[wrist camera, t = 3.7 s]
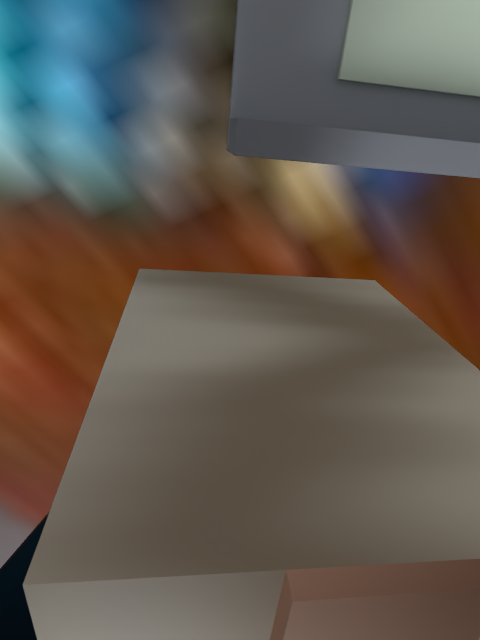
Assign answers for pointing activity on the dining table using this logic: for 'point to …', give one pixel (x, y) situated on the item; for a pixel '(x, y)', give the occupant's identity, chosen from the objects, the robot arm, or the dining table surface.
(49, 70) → the dining table surface
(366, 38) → the corner arena
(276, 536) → the birch block
